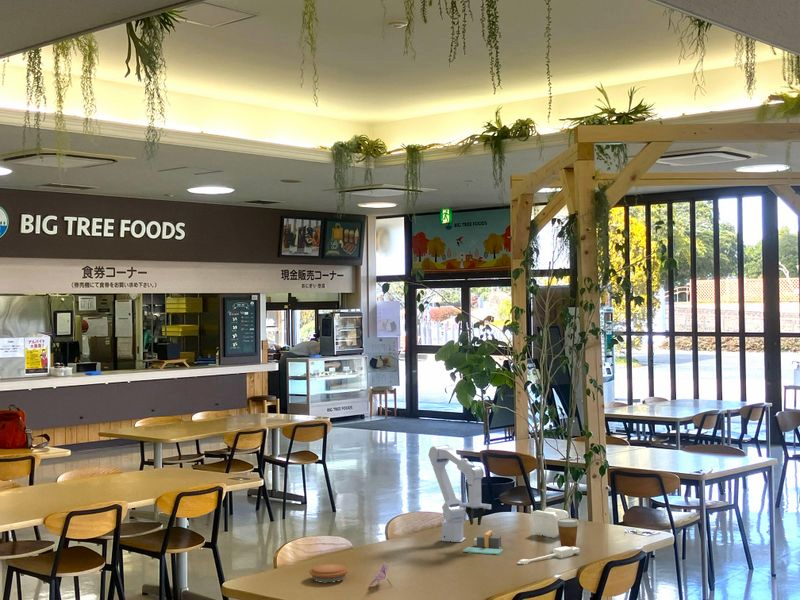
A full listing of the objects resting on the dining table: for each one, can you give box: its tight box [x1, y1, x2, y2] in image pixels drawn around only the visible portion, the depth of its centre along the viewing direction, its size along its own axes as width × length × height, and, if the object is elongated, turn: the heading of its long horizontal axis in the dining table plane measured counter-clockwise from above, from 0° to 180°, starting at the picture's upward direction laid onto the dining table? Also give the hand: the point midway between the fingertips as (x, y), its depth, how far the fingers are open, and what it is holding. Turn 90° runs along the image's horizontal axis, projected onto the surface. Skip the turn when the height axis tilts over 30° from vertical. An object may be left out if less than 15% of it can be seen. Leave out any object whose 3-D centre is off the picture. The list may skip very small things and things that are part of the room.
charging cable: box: [516, 546, 581, 565], centre depth 402 cm, size 5×32×3 cm, turn 123°
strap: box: [483, 530, 494, 548], centre depth 426 cm, size 2×9×6 cm, turn 160°
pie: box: [308, 563, 349, 582], centre depth 375 cm, size 16×16×5 cm
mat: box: [462, 546, 504, 556], centre depth 416 cm, size 16×8×1 cm, turn 70°
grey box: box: [473, 534, 502, 549], centre depth 426 cm, size 12×5×5 cm, turn 71°
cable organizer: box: [531, 507, 570, 539], centre depth 447 cm, size 15×11×12 cm
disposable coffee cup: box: [557, 518, 580, 547], centre depth 422 cm, size 10×10×12 cm
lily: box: [368, 561, 393, 587], centre depth 363 cm, size 12×12×10 cm
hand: (475, 524), depth 428 cm, fingers open, 3 cm apart
